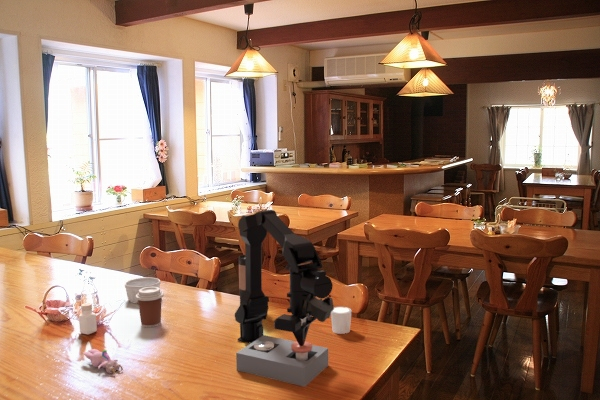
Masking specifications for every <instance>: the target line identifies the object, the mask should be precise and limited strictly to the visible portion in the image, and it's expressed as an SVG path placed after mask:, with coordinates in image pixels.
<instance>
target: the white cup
mask: <svg viewBox="0 0 600 400" xmlns="http://www.w3.org/2000/svg"><path fill="white" fill-rule="evenodd" d="M333 308H334V310H333V311H331V314H330V320H331V328H332V332H333V334H334V333H335V334H338V335H343V334H344V335H346V334H348V333H350V332H351V323H352V321H351V320H352V309H351V308H350V307H346V306H333ZM345 333H346V334H345Z"/></svg>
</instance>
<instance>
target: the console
mask: <svg viewBox="0 0 600 400" xmlns="http://www.w3.org/2000/svg"><path fill="white" fill-rule="evenodd" d="M260 341H270V342H273V343H274V349H273V350H271V351H270V352H268V353H266V352H261V351H257V350H254V344H255V343H257V342H260ZM294 342H296V341H295V340H290V339H284V338H281V337H280V338H279V337H276V336H275V337H274V336H270V335H266V334H265V335H263V336H262V337H260V338H259V339H257V340H255V341H254V342H252V343H248V345H246V346H245V347H243V348H242V349H240V350H238V351H237V352H236V356H235V359H236V371H238V372H243V373H247V374H251V375H255V376H259V377H262V378H267V379H272V380H275V381H280V382H283V383H288V384H292V385H296V386H299V387H303V388H305V387H306V386H307V385H308V384H309V383H311V382H312V381H313V380H314V379H315V378H316V377H317V376H318V375H319V374H321V372H322V371H325V369H326V368H327V367H328V366H329V348H328V347H326V346H325V347H324V346H320V345H314V344H312V350H311V351H309V352H308V361H302V360H298V359H296V352H294V351H292V350H291V344H292V343H294Z"/></svg>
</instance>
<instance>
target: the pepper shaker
mask: <svg viewBox="0 0 600 400" xmlns="http://www.w3.org/2000/svg"><path fill="white" fill-rule="evenodd" d="M78 323H79V333H80V334H83V335H87V336H88V335H91V334H94V333H95V332H97V331H98V326H97V314H96V313H95V312H93V303H91V302H86V303H82V304H81V313H80V314H79V316H78Z"/></svg>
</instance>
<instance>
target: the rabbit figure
mask: <svg viewBox="0 0 600 400" xmlns="http://www.w3.org/2000/svg"><path fill="white" fill-rule="evenodd" d="M82 354H83V355H84V356H85V357H86V358H87V359H89V361H90V362H91V365H92V366H93V367H95V368H97V370H100V369H101V368H102V367H103V368H104V369H105V371H106V372H107V373H108V374H112V375H116V372H117V371H116V370H118V371H119V370H120V372H123V371H124V369H123V368H124V367H123V366H121V364H120V363H118V361H119V360H118V359H111V358H110V355H109V354H108V350H106V349H103V350H102V351H100V350H99V349H97V348H91V349H89V350H87V351H84V352H82ZM112 372H113V373H112Z"/></svg>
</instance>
